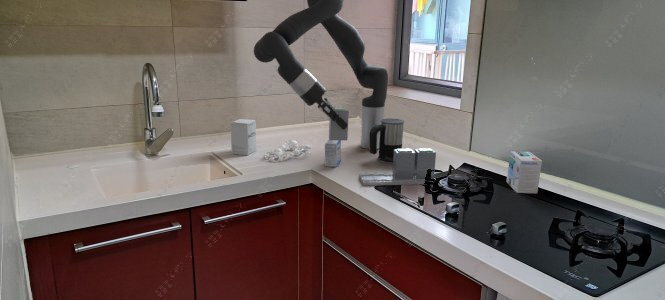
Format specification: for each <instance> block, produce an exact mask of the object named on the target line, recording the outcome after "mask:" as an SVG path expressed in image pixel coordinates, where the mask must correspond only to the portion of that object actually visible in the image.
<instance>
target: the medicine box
mask: <svg viewBox="0 0 665 300" xmlns="http://www.w3.org/2000/svg"><path fill="white" fill-rule="evenodd" d="M341 148H342V140H330V139H329V138H328V140H327V141H326V142H325V144H324V166H325V167H329V168H337V167H338V166H339V164H340V162H341V158H342V157H341V154H342V152H341V151H342V149H341Z"/></svg>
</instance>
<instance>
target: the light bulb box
mask: <svg viewBox="0 0 665 300" xmlns="http://www.w3.org/2000/svg"><path fill="white" fill-rule="evenodd" d="M542 165H543V160H542V159H540V158H539V157H537V156H536V155H535V154H533V153H532V152H531V151H514V150H513V151H512V150H511V151H510V152H509V160H508V167H507V175H506V183H507V184H508V185H509V186H510V187H511V188H512V189H513V191H514V192H515V193H517V194H521V193H522V194H538V191H539V183H540V178H541V177H540V176H541V171H542Z"/></svg>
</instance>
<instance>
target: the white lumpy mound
mask: <svg viewBox="0 0 665 300" xmlns="http://www.w3.org/2000/svg"><path fill="white" fill-rule="evenodd" d="M288 147H289V149H290V150H291V151H286V150H287V148H288ZM311 149H312V148H311V146H310V145H308V144H300V145H299V144H298V142H297V140H290V141H288V142H287V141H285V142H284V144H280V146H277V147H276V148H274V149H273V150H272V149H271V150H270V151H268V152H265V153H264V154H263V156H264V159H265V160H268V161H269V162H271V163H273V162H274V163H278V162H280V163H281V162H283V161H285V160H289V159H299V158H300V159H301V157H303V156H308V155H310V154H311ZM305 152H307V153H305ZM282 157H284V158H282ZM276 159H277V160H276Z"/></svg>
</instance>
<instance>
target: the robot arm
mask: <svg viewBox="0 0 665 300" xmlns="http://www.w3.org/2000/svg"><path fill="white" fill-rule="evenodd" d="M306 2H307V6H308V7H307V8H304V9H302V10H300V11H296V12H295V13H293V14H291V15H289V16H288V17H287V18H285V19H284V20H283V21H281V22H280V23H279V24H278V25H277V26H276V27H275V28H274V29H273V30H272V31H268V32H266V33H265V34H264V35H263V36H262V37H261V38H260V39H259V40H258V41H257V42H256V43H255V45H254V47H253V55H254V57H255V58H256V60H258V61H259V62H261V63H267V64H268V63H271V62H272V61H274V60H276V62H277V64H278V68H277V73H278V75H279V77H281V78H282V80H284V81H285V82H286V83H287V84H288V85H289V86H290V88H291V89H292V90H293V91H294V93H295V94H296V95H297V96H298V97H299V98H300V99H301V100H302V101H303V102H304V103H305V104H306V105H307V106H308V107H311V106H313V105H314V104H317V109H319V111H321V112H323V114H324V115H325V116H326V117H327V118H331V119H332V121H334V122H336V123H337V124H338V125H339V126H340V127H341V128H342V129H343V130H344V129H345V128H347V127H348V128H349V123H348V124H347V123H346V122H345V121H344V120H343V119H342V118H341V117H340V115H339V114H338V113H337V112H336V109H335V108H336V107H335V106H334V105H333V104H332V103H331V101H330V100H329V98H327V97H323V96H324V95H325V93H326V91H327V90H326V87H325V86H324V85H323V84H322V83H321V82H320V81H319V80H318V79H317V78H316V77H315V76H314V75H313V74H312V73H311V72H310V71H309V70H308V69H306V68H305V67H304V65H303V64H302V63H301V62H299V60H298V59H297V58H296V57H295V54H294V53H293V50H292V49H291V47H290V46H291V45H292V44H294V43H296V42H297V40H298V39H300V38H301V37H303V36H304V35H305V34H306V33H307V32H308V31H310V30H311V29H313V28H314V27H316V26H318V25H319V24H321V25H322V26H323V28H324V29H325V30H326V31H327V33H328V34H329V36H330V37H331V39H332V40H333V42H334V43H335V45H336V46H337V49H338V50H339V51H340V52H341V54H342V55H343V57H344V58H345V60H346V61H347V63H348V64H349V66H350V68H351V69H352V71H353V74H354V75H355V78H356V80H357V81H358V83H359V85H360V86H361V87H362V88H365V89H369V90H372V94H371V95H369V96H366V97H365V96H364V98H362V99H361V100H362V101H361V121H360V124H361V125H360V147H361V148H363V149H367V150H370V130H371V129H372V127H374V126H375V125H381V121H380V120H381V119H385V103H386V100H387V94H388V93H387V92H388V83H389V73H388V72H389V71H388V70H387V68H386V67H384V66H377V65H369V64H368V63H367V61H366V60H365V58H364V55H365V51H366V45H365V41H364V40H363V38H362V36H361V34H360V32H359V31H358V30H357V29H356V27H354V26H353V25H352V24H351V23H349V22H348V21H346V20H345V19H344V18H342V17H340V16H339V15H338V14H339V13H340V11H342V9H343V6H344V0H306ZM332 108H333V109H332ZM333 114H336V115H335V116H334V117H332V115H333ZM379 141H380V131H379V132H378V133H377V150H379Z"/></svg>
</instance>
